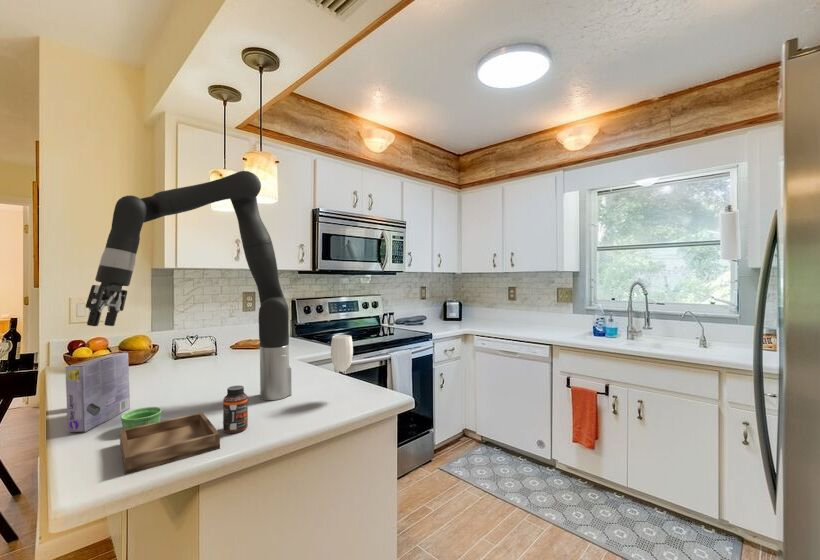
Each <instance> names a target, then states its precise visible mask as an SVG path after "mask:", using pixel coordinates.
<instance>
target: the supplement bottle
mask: <svg viewBox="0 0 820 560" xmlns="http://www.w3.org/2000/svg"><path fill="white" fill-rule="evenodd" d="M226 391H227V392H226V395H225V396H224V397H223V401H222V403H223V404H222V410H223V411H222V418H223V420H222V421H223V422H222V426H223V427H222V430H223V432H224V433H227V434H236V433H241V432H244V431H245V430H246V429H247V428H248V424H249V423H248V422H249V421H248V420H249V419H248V418H249V416H248V415H249V414H248V412H249V410H248V408H249V407H248V406H249V404H248V401H249V400H248V398H249V397H248V395H247V394H246V393H245V387H244V386H243V385H231V386H229V387H227V390H226Z"/></svg>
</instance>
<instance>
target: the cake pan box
mask: <svg viewBox="0 0 820 560" xmlns="http://www.w3.org/2000/svg"><path fill="white" fill-rule="evenodd" d="M129 367H130V366H129V352H119V353H118V352H117V353H111V354H108V355H105V356H101V357H97V358H93V359H89V360H85V361H82V362H79V363H78V362H77V363H75V364H71V365H67V366H65V387H66V388H65V391H66V392H65V394H66V419H67V420H66V421H67V433H87V432H89V431H90V430H91V429H94V428H95V427H97V426H99V425H101V424H103V423H106V422H107V421H109V420H112V419H113V418H114V419H115V417H116V416H118V415H120V414H122V413H125V412H126V411H128V410H130V409H131V408H130V406H131V405H130V404H131V401H130V398H131V395H130V394H131V393H130V371H129V370H130V369H129Z"/></svg>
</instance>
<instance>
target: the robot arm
mask: <svg viewBox="0 0 820 560" xmlns="http://www.w3.org/2000/svg"><path fill="white" fill-rule="evenodd" d="M261 190H262V183H261V181H260V178H259V176H257V175H256V174H255V173H254V172H251V171H250V170H249V171H248V170H240V171H237V172H235V173H232V174H230V175H227V176H224V177H222V178H219V179H214V180H210V181H207V182H203V183H198V184H194V185H188V186H183V187H178V188H172V189H168V190H162V191H157V192H156V193H154V194H153V195H151V196H147V197H142V198H140V197H138V196H135V195H124V196H122V197H120V198H119V199H118V200H117V201H116V203H115V206H114V210H113V214H112V221H111V227H110V228H111V229H110V231H109V234H108V237H107V240H106V242H105V243H106V244H105V247H104V251H103V252H102V254H101V257H100V260H99V263H98V268H97V272H96V276H95V278H94V279H95V281H96V282H97V283H100V285H97V284H92V286H91V287H90V291H89V293H88V297H87V301H86V304H85V309H88V311H89V313H88V314H89V315H88V320H87V323H86V324H87V326H89V327H90V326H91V327H98V326H99V324H100V321H101V320H100V319H101V317H102V316H101V315H102V312H103V310H104V308H105V307H107V312H106V316H105V320H104V323H103V324H104V326H106V327H107V326H109V327H114V326H115V325H116V320H117V317H118V313H119V314H120V312H123V310H124V308H125V305H126V301H127V299H126V298H127V295H128V290H125V289H123V287H129V286H130V284H131V280H132V277H133V273H134V269H135V265H136V261H137V260H136V259H137V253H138V250H139V244H140V240H141V231H142V229H143V225H144V223H147V222H151V221H154V220H156V219H160V218H162V217H165V216H172V215H173V216H174V215H176V214H182V213H186V212H190V211H193V210H196V209H199V208H201V207H205V206H207V205H210V204H213V203H216V202H220V201H226V200H230V202H231V206H232V207H233V210H234V213H235V215H236V218H237V219H236V220H237V223H238V230H239V235H240V239H241V243H242V244H241V245H242V249H243V252H244V253H243V254H244V257H245V260H246V263H247V266H248V268H249V271H250V273H251V275H252V278H253V280H254V282H255V284H256V287H257V291H258V297H259V304H260V307H259V309H258V339H259V386H260V387H259V393H260V399H261V400H265V401H276V400H282V399H284V398H285V399H286V398H287V397H289V396H292V395H293V394H292V389H293V388H292V367H291V366H290V352H289V351H290V333H289V327H290V326H289V323H290V321H289V320H290V319H289V311H290V309H289V306H288V303H287V301H286V298H285V296H284V293H283V289H282V287H281V284H280V280H279V271H278V264H277V257H276V254H275V253H276V252H275V249H274V245H273V241H272V239H271V236H270V233H269V231H268V230H267V229H268V228H266V226H265V223H264V222H263V220H262V218H261V215H260V211H259V207H258V200H257V197H258V195H259V194H260V191H261Z"/></svg>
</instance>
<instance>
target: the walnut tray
mask: <svg viewBox="0 0 820 560" xmlns="http://www.w3.org/2000/svg"><path fill="white" fill-rule="evenodd" d="M119 443H120V444H119V446H120V450H121V456H122V457H121V458H122V464H123V468H124V469H123V470H124V474H125V476H126V475H129V474H133V473H137V472H140V471H143V470H144V471H145V470H147V469H151V468H152V469H153V468H154V467H159V466H161V465H166V464H170V463H173V462H176V461H180V460H183V459H188V458H191V457H194V456H198V455H201V454H204V453H208V452H213V451H216V450H220V449H221V433H220V432H219V431H218V430H217V428H216V427H215V425H213V423H212V422H211V421H210V419H209V418H208V416H206V415H205V414H204V412H198V413H194V414H189V415H184V416H180V417H179V416H178V417H174V418H170V419H165V420H162V421H161V420H160V422H156V423H151V424H146V425H142V426H137V427H132V428H128V429H123V428H122V429H120V430H119Z"/></svg>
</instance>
